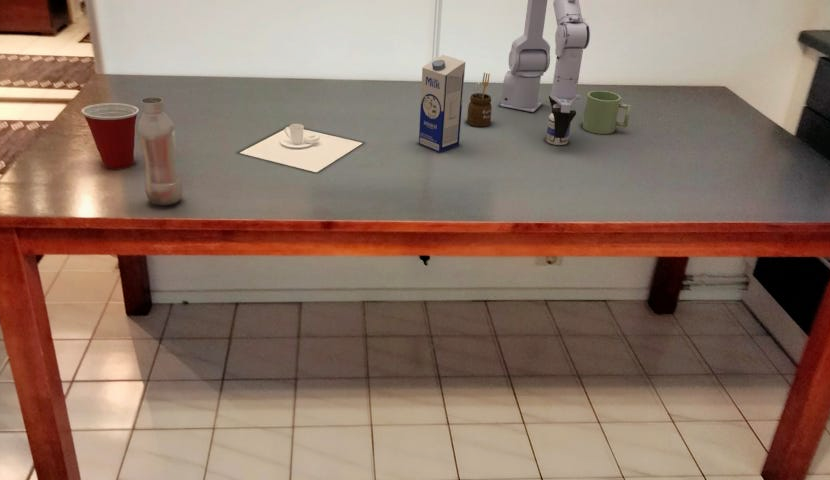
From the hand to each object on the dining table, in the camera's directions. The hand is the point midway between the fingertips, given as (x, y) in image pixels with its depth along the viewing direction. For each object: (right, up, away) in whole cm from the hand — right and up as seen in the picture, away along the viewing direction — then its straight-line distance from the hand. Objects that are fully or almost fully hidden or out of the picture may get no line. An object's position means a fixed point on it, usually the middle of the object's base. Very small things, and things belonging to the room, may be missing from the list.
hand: (558, 131), depth 183 cm
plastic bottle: (-82, -21, -38) cm, 92 cm away
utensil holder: (-19, +4, +9) cm, 21 cm away
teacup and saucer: (-60, -6, -11) cm, 61 cm away
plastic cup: (-96, -11, -24) cm, 100 cm away
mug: (+14, +3, +11) cm, 17 cm away
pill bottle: (0, -2, +1) cm, 3 cm away
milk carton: (-29, -4, -5) cm, 30 cm away
